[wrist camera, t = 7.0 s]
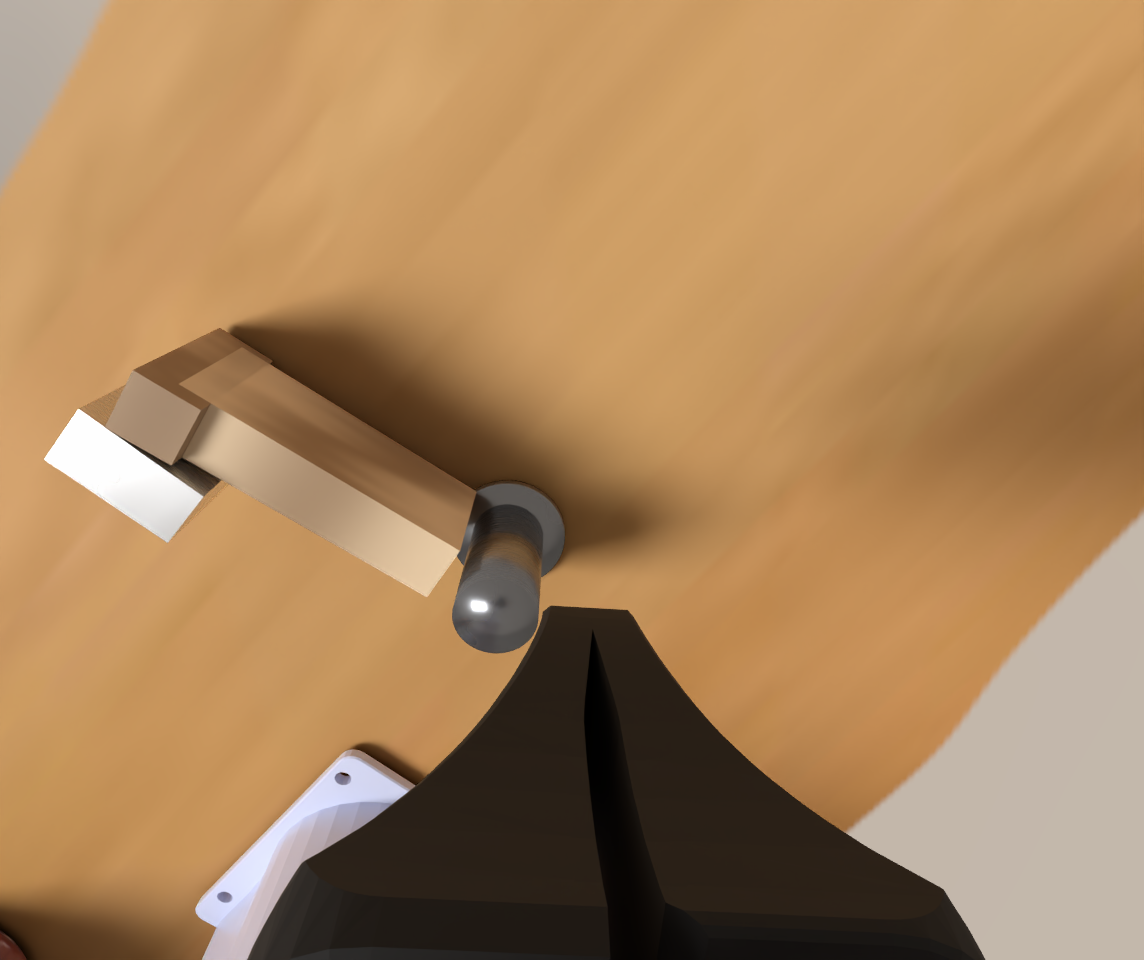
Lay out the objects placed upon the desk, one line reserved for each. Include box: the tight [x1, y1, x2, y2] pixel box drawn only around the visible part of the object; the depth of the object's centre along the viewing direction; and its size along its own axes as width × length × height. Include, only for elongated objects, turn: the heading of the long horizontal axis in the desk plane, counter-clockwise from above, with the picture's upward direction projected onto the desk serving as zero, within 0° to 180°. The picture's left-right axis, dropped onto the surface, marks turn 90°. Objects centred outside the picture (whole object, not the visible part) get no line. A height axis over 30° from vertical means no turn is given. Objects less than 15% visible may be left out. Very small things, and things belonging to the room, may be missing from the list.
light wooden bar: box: [105, 328, 476, 597], centre depth 19 cm, size 8×2×4 cm, turn 55°
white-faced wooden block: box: [44, 385, 229, 543], centre depth 19 cm, size 2×3×4 cm, turn 48°
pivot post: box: [452, 480, 565, 653], centre depth 20 cm, size 3×3×4 cm
